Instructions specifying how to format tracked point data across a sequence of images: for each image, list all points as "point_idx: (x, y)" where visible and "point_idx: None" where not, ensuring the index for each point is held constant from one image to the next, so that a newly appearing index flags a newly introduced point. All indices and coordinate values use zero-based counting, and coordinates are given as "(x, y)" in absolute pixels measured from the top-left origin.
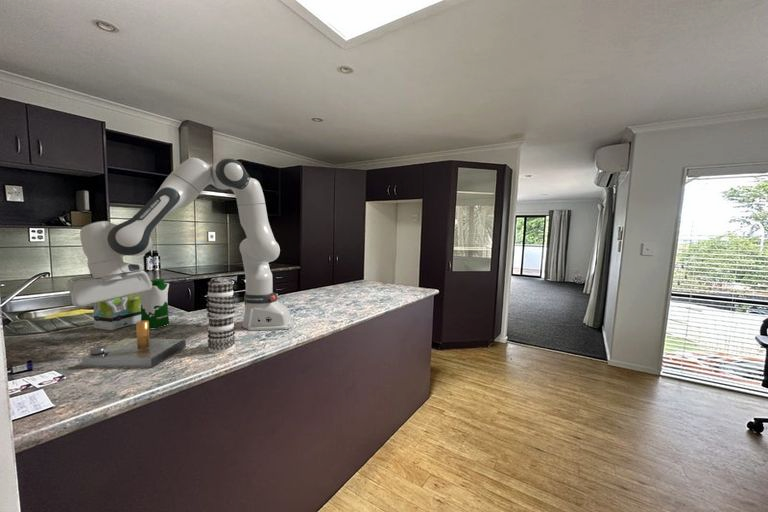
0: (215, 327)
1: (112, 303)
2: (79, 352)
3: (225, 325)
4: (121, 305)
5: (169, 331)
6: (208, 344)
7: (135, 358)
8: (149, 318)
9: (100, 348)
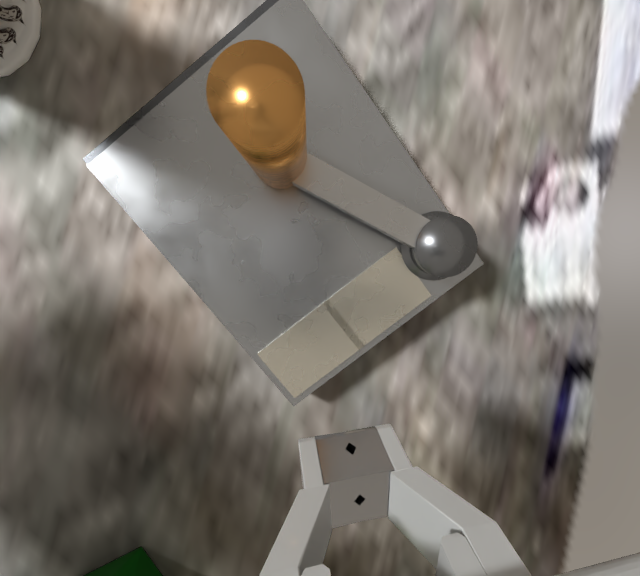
0: None
1: (449, 516)
2: (427, 444)
3: None
4: (328, 519)
5: (101, 471)
6: (7, 10)
7: (342, 58)
8: None
9: (441, 235)
